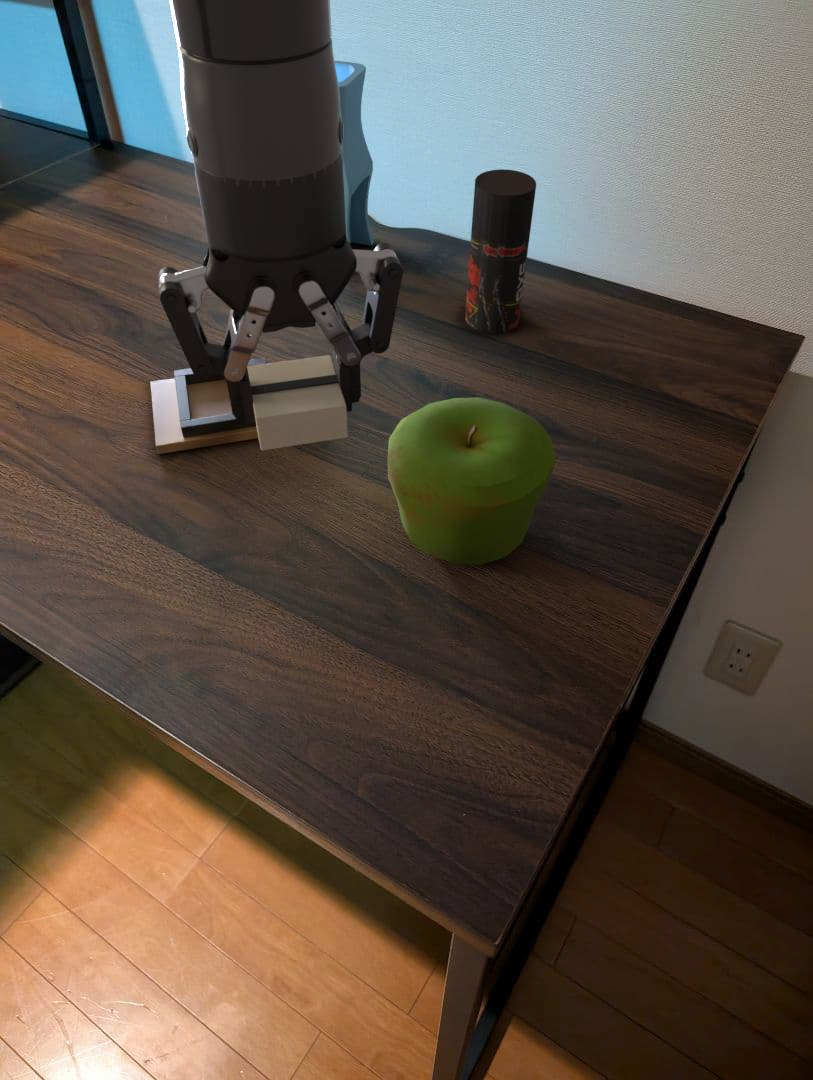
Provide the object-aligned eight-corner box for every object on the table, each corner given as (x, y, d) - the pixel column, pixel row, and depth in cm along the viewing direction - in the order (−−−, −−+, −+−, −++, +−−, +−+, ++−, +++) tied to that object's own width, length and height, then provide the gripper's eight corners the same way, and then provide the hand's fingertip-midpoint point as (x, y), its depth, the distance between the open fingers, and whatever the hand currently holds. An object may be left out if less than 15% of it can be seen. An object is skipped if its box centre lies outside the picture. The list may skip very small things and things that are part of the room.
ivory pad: (261, 451, 50) (255, 417, 48) (251, 398, 54) (245, 364, 52) (348, 437, 51) (346, 404, 49) (332, 386, 55) (330, 353, 53)
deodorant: (516, 336, 86) (534, 198, 75) (461, 330, 86) (471, 192, 75) (520, 307, 90) (538, 172, 79) (468, 301, 90) (478, 167, 79)
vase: (316, 232, 101) (302, 56, 87) (374, 242, 100) (370, 64, 85) (291, 261, 96) (272, 79, 81) (352, 272, 95) (343, 88, 80)
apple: (530, 480, 70) (548, 374, 62) (547, 587, 62) (570, 481, 54) (389, 479, 70) (388, 373, 62) (387, 586, 62) (385, 480, 54)
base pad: (158, 454, 72) (152, 435, 71) (152, 389, 79) (147, 371, 77) (310, 430, 75) (308, 411, 73) (292, 369, 81) (290, 351, 80)
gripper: (389, 105, 43) (390, 364, 56) (118, 126, 41) (182, 392, 53) (425, 160, 38) (417, 431, 51) (118, 188, 36) (189, 466, 48)
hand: (297, 410), depth 52 cm, fingers closed on ivory pad, 5 cm apart
